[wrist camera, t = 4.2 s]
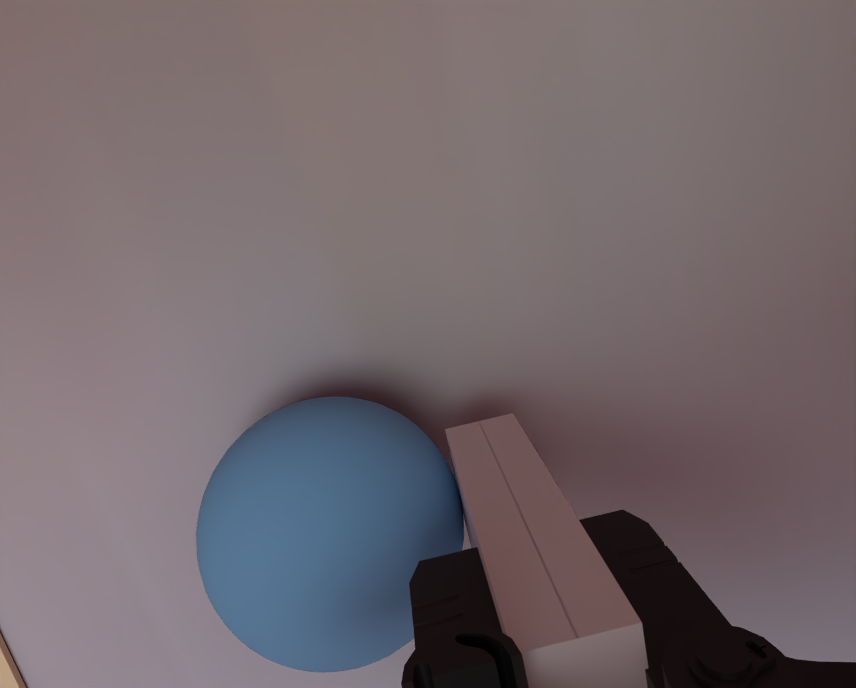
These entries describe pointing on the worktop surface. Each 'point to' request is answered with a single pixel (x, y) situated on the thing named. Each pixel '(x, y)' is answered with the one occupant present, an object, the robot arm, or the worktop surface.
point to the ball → (325, 531)
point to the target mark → (8, 669)
